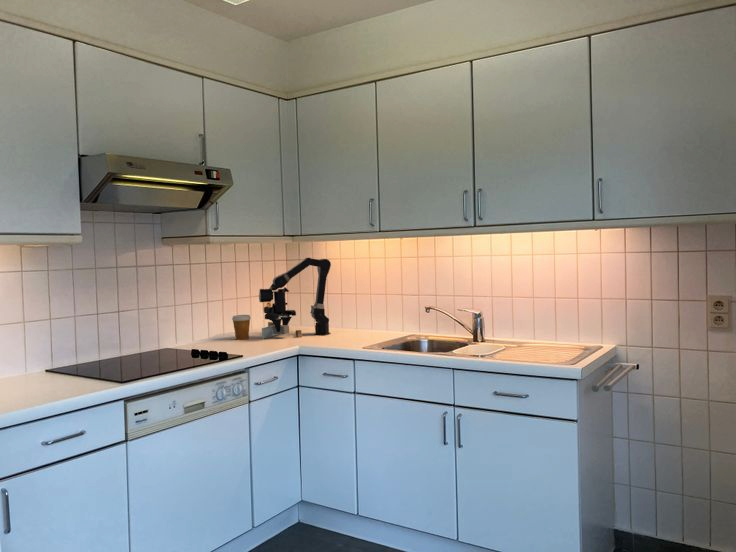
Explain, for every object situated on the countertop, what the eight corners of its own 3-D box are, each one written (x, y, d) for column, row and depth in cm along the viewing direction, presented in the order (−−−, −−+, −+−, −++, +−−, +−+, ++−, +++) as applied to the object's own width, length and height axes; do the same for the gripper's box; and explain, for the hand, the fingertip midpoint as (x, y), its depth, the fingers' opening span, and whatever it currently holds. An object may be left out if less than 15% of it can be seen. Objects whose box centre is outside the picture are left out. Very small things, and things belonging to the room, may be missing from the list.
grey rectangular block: (289, 333, 326) (288, 325, 325) (284, 334, 322) (284, 326, 321) (278, 332, 329) (277, 324, 329) (273, 333, 325) (272, 326, 325)
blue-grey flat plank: (279, 333, 338) (279, 323, 338) (281, 333, 338) (281, 323, 337) (262, 338, 324) (261, 327, 324) (264, 338, 324) (263, 327, 323)
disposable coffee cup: (253, 337, 331) (252, 314, 330) (248, 340, 321) (247, 316, 321) (236, 337, 332) (235, 314, 331) (230, 340, 322) (229, 317, 322)
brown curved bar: (267, 333, 344) (267, 320, 344) (271, 332, 346) (270, 319, 345) (298, 337, 324) (297, 323, 324) (301, 336, 326) (301, 323, 325)
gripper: (279, 299, 336) (280, 328, 337) (255, 302, 321) (257, 333, 321) (296, 299, 331) (297, 329, 331) (272, 303, 315) (274, 334, 316)
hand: (281, 331), depth 325 cm, fingers closed on grey rectangular block, 4 cm apart
